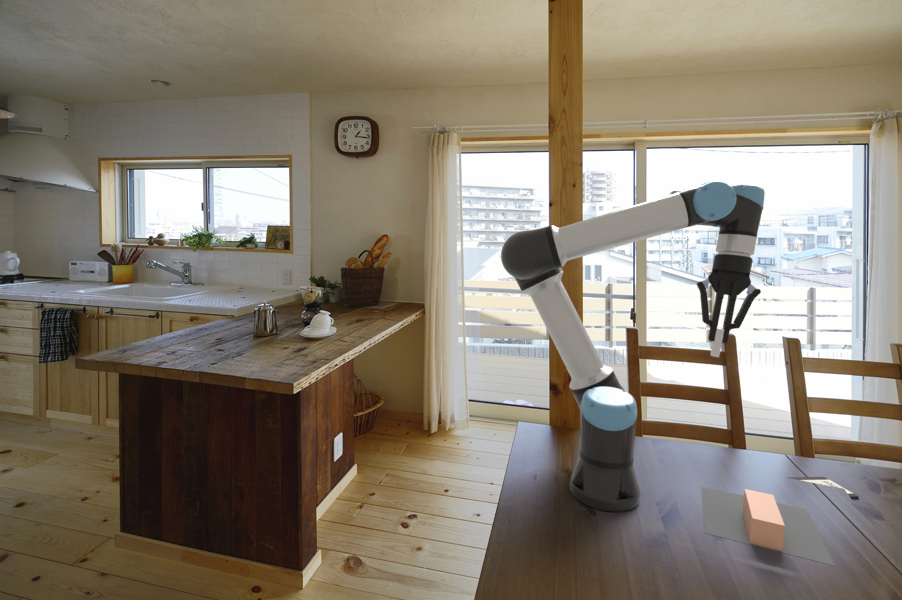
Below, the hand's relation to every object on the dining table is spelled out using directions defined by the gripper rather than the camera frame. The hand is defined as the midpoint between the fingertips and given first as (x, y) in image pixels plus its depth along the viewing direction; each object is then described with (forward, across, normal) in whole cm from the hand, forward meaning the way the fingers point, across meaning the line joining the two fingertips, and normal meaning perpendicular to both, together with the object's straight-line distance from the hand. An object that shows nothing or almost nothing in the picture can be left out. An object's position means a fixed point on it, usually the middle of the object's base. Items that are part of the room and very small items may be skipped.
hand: (714, 355), depth 106 cm
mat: (+31, -12, +12) cm, 35 cm away
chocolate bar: (+29, -25, -9) cm, 39 cm away
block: (+28, -11, +10) cm, 32 cm away
